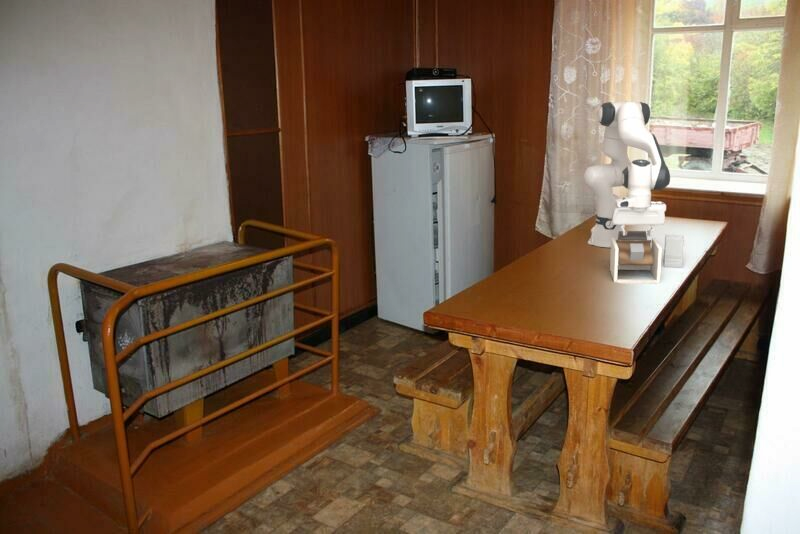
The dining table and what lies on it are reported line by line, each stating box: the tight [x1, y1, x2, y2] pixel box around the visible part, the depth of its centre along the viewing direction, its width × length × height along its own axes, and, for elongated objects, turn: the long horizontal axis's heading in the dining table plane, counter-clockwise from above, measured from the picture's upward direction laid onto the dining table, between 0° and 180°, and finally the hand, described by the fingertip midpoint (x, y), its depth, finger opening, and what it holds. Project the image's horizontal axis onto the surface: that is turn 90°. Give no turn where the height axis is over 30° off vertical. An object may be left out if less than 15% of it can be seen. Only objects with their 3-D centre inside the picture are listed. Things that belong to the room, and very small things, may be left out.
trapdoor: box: [616, 230, 653, 266], centre depth 291 cm, size 20×14×7 cm
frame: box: [609, 237, 663, 285], centre depth 286 cm, size 20×18×14 cm
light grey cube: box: [629, 243, 644, 261], centre depth 282 cm, size 5×5×5 cm
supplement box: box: [663, 234, 685, 268], centre depth 299 cm, size 7×7×13 cm
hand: (637, 235), depth 281 cm, fingers open, 8 cm apart
